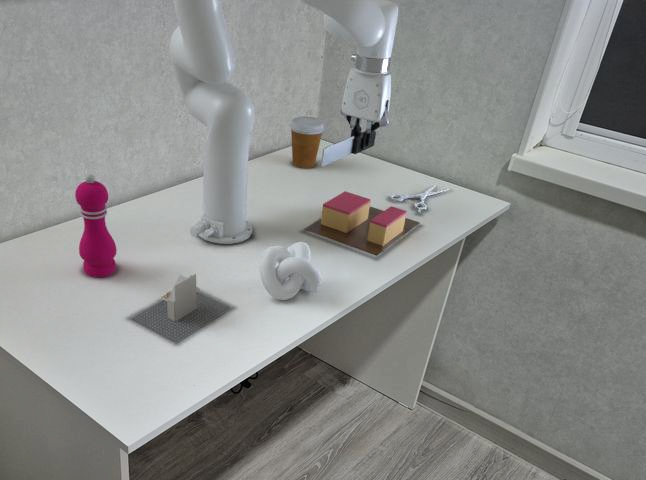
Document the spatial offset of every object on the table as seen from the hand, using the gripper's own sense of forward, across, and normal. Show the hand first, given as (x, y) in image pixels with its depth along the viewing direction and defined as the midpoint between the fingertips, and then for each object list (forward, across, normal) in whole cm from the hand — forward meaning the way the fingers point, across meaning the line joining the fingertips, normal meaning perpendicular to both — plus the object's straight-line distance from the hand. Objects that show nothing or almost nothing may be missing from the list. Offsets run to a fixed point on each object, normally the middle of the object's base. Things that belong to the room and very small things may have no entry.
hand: (360, 146), depth 152 cm
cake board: (+15, +9, -10) cm, 20 cm away
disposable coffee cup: (+15, -24, +15) cm, 32 cm away
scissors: (+15, +12, +17) cm, 26 cm away
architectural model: (+15, +2, -64) cm, 66 cm away
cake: (+14, +4, -11) cm, 18 cm away
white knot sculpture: (+15, +11, -45) cm, 49 cm away
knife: (+1, 0, -6) cm, 6 cm away
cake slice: (+14, +15, -11) cm, 23 cm away
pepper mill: (+16, -22, -63) cm, 68 cm away
